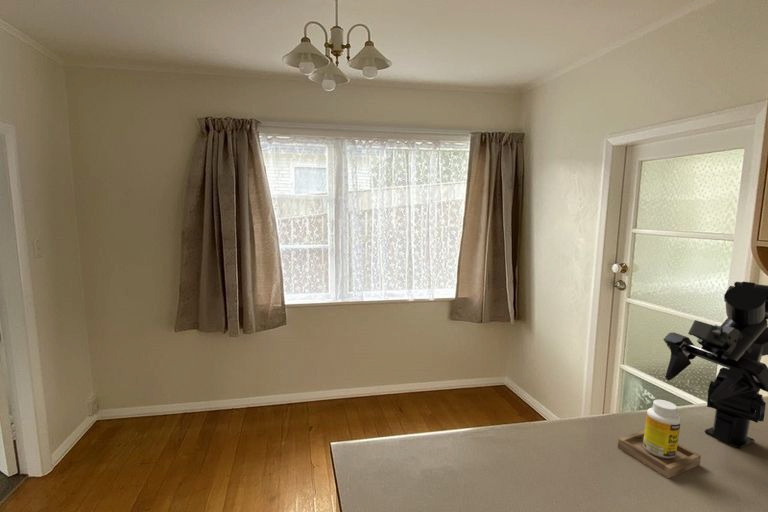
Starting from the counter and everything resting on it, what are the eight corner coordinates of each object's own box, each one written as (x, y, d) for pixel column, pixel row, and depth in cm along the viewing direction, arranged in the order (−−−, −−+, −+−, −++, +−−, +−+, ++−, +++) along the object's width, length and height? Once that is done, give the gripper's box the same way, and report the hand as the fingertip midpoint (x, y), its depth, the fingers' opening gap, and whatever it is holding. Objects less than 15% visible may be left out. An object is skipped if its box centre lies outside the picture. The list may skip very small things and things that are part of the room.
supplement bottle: (668, 463, 76) (675, 414, 74) (637, 448, 80) (643, 401, 79) (680, 454, 79) (687, 406, 77) (649, 440, 83) (655, 394, 82)
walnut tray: (648, 436, 86) (649, 428, 86) (699, 465, 77) (701, 455, 77) (617, 447, 82) (618, 438, 82) (668, 478, 73) (669, 468, 73)
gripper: (675, 297, 88) (629, 347, 87) (775, 322, 70) (719, 386, 69) (697, 328, 91) (653, 378, 90) (799, 360, 73) (746, 422, 72)
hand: (688, 389), depth 80 cm, fingers open, 9 cm apart
